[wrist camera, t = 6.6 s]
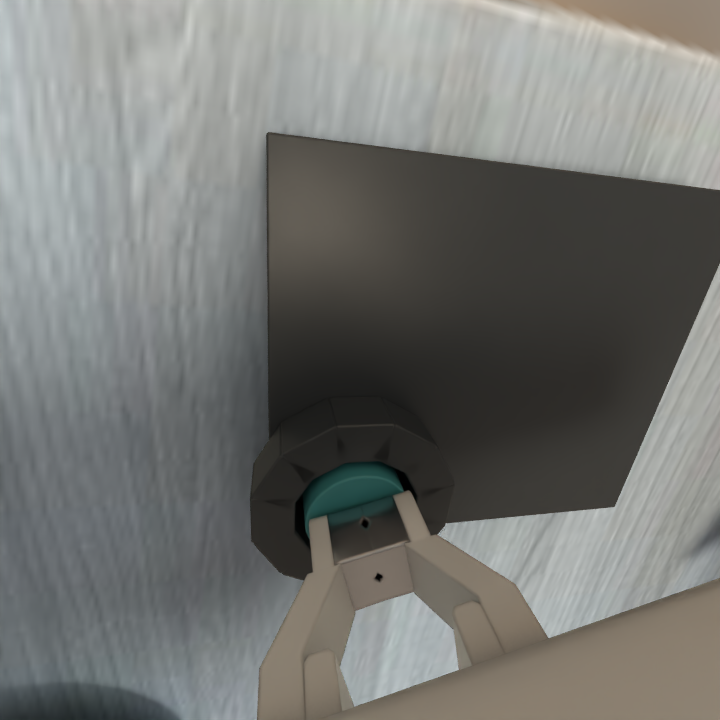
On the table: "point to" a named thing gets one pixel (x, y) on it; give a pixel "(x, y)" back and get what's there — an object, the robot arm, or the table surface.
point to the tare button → (349, 488)
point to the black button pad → (467, 329)
